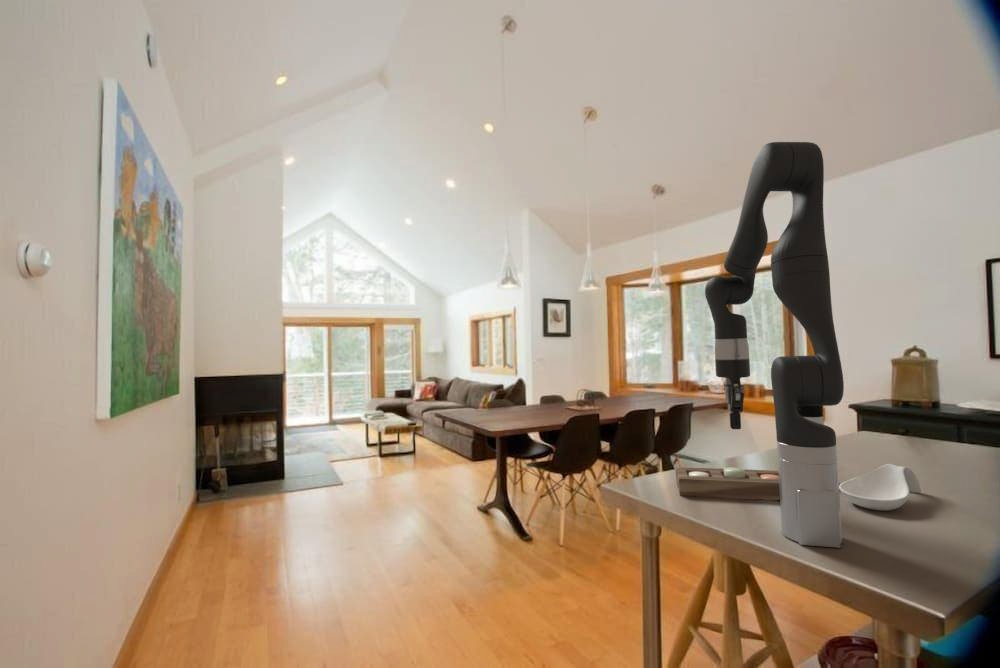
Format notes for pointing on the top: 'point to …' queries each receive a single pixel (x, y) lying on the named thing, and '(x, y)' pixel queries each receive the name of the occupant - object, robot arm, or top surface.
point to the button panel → (727, 484)
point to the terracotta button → (770, 476)
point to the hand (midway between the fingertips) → (735, 428)
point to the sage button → (734, 473)
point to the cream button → (699, 474)
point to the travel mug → (811, 413)
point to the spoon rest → (881, 487)
